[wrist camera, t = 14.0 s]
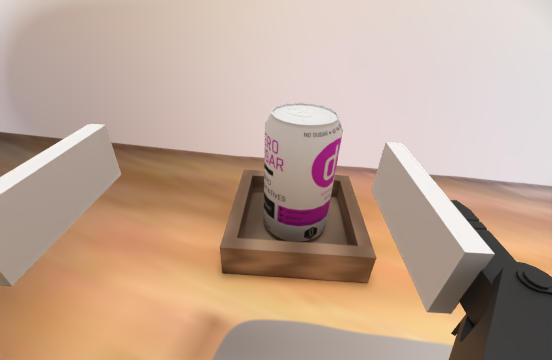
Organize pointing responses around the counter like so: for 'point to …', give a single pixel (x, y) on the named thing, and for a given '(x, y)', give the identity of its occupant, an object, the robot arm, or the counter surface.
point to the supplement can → (299, 169)
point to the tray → (297, 255)
